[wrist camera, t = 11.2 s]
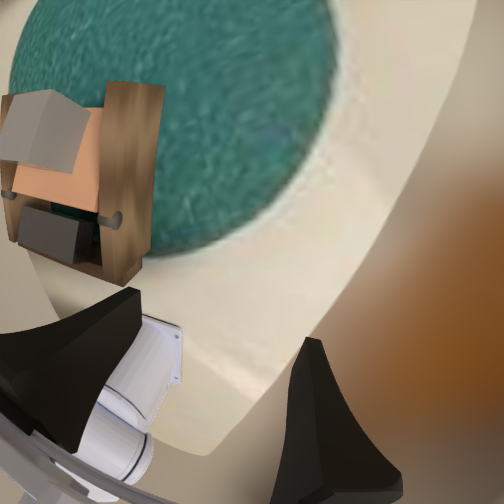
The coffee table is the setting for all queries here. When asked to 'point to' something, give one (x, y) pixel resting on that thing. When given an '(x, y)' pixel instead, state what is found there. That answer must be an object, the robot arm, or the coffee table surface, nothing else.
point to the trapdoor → (63, 200)
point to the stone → (43, 131)
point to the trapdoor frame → (110, 182)
